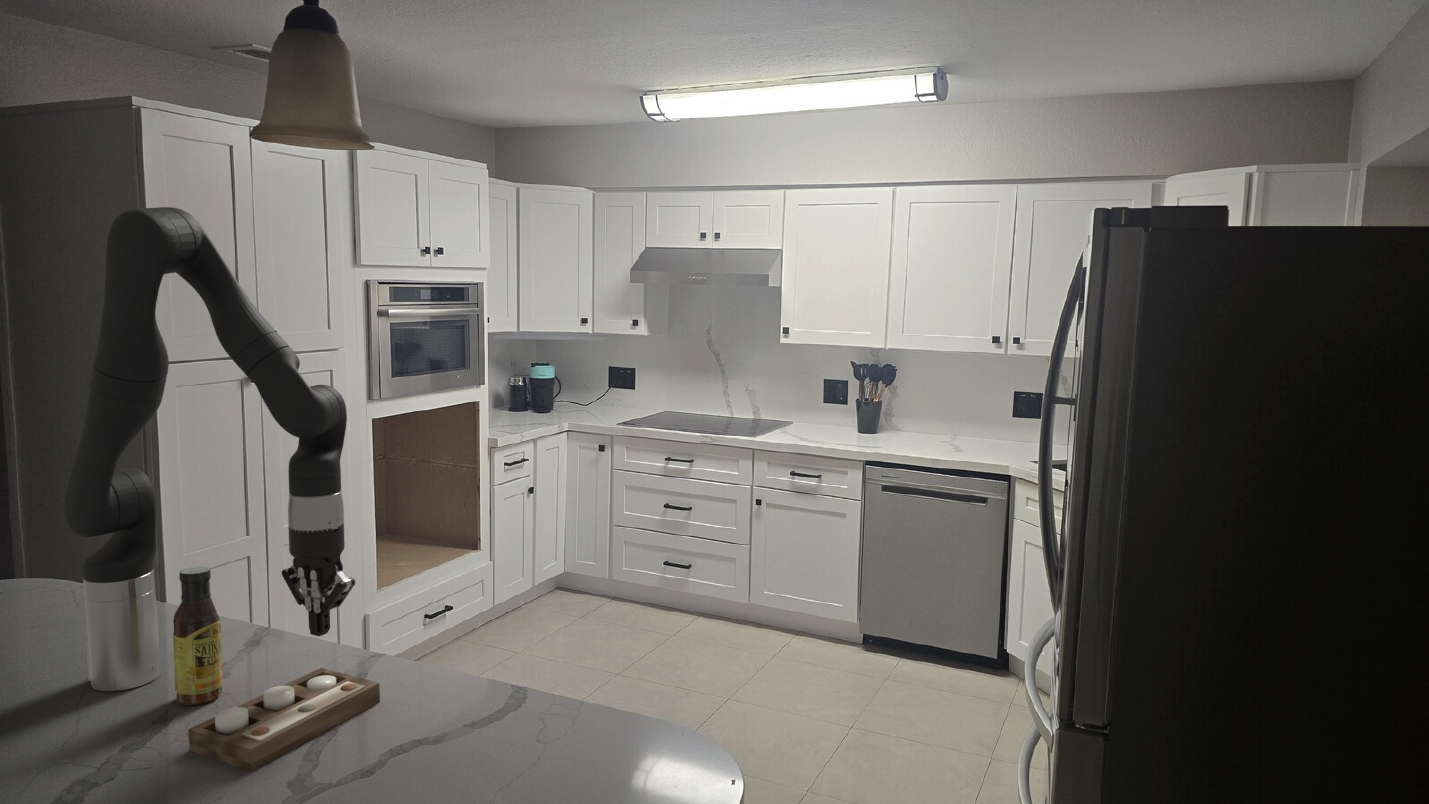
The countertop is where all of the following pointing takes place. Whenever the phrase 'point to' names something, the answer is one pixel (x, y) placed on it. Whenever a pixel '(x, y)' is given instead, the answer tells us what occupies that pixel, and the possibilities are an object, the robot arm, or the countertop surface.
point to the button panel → (286, 721)
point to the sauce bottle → (197, 640)
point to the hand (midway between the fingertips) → (319, 633)
